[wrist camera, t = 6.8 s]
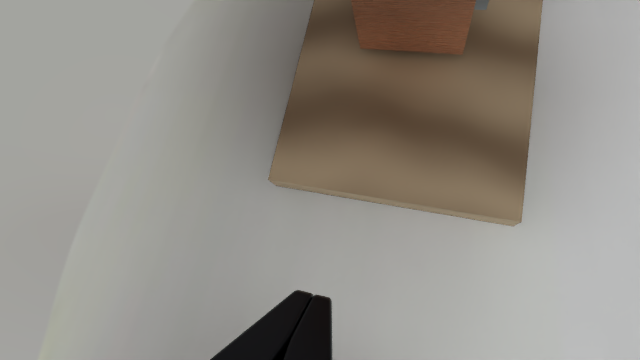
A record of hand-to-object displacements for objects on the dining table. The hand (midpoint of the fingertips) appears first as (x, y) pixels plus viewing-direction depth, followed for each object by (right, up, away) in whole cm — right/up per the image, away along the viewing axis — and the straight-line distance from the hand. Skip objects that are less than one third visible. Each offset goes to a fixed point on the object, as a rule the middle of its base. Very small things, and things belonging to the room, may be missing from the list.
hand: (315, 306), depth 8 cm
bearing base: (+6, +11, +16) cm, 20 cm away
